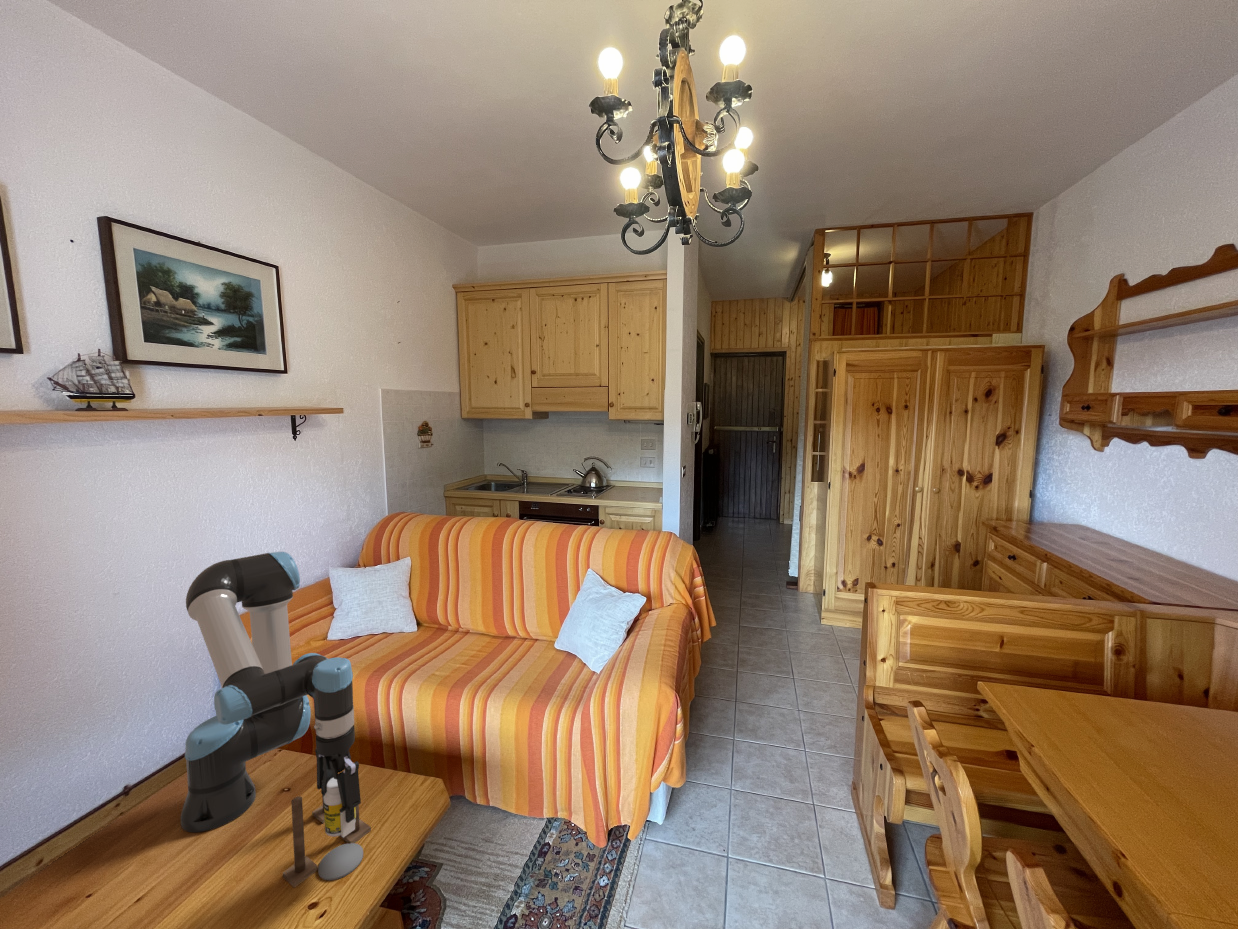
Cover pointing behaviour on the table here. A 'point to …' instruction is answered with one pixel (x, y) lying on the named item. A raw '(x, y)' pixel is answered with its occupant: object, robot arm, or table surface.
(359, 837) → the post corner
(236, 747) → the robot arm
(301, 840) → the post
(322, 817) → the post
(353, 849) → the coaster
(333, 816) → the pill bottle
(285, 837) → the table surface
